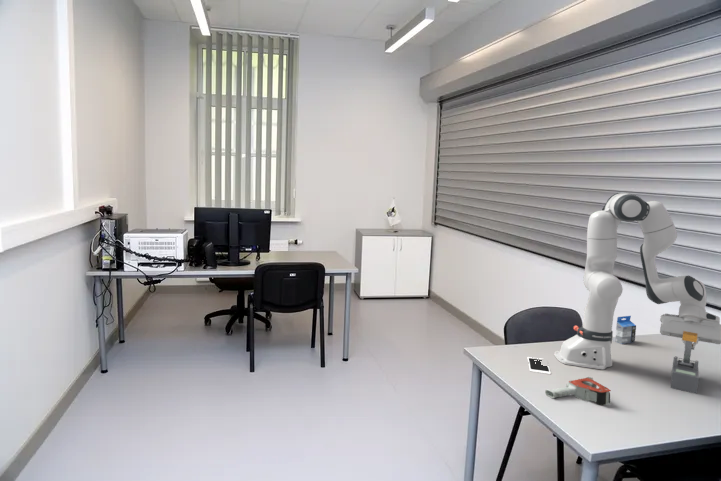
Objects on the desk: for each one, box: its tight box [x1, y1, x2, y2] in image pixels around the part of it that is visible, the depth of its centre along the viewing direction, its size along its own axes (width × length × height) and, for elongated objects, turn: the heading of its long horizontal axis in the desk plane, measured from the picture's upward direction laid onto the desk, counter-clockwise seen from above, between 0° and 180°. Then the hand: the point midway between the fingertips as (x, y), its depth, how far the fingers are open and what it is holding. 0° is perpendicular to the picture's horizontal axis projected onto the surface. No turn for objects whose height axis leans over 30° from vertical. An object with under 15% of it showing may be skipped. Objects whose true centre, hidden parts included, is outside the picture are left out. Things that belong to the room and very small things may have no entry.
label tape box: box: [614, 315, 637, 345], centre depth 226 cm, size 9×4×12 cm, turn 111°
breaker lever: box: [678, 331, 697, 368], centre depth 179 cm, size 3×5×14 cm, turn 55°
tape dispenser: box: [544, 376, 612, 406], centre depth 166 cm, size 18×5×20 cm
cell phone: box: [526, 356, 552, 375], centre depth 193 cm, size 8×16×1 cm, turn 164°
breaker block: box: [670, 356, 700, 395], centre depth 181 cm, size 20×8×9 cm, turn 145°
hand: (689, 348), depth 180 cm, fingers closed, pressing on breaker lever
